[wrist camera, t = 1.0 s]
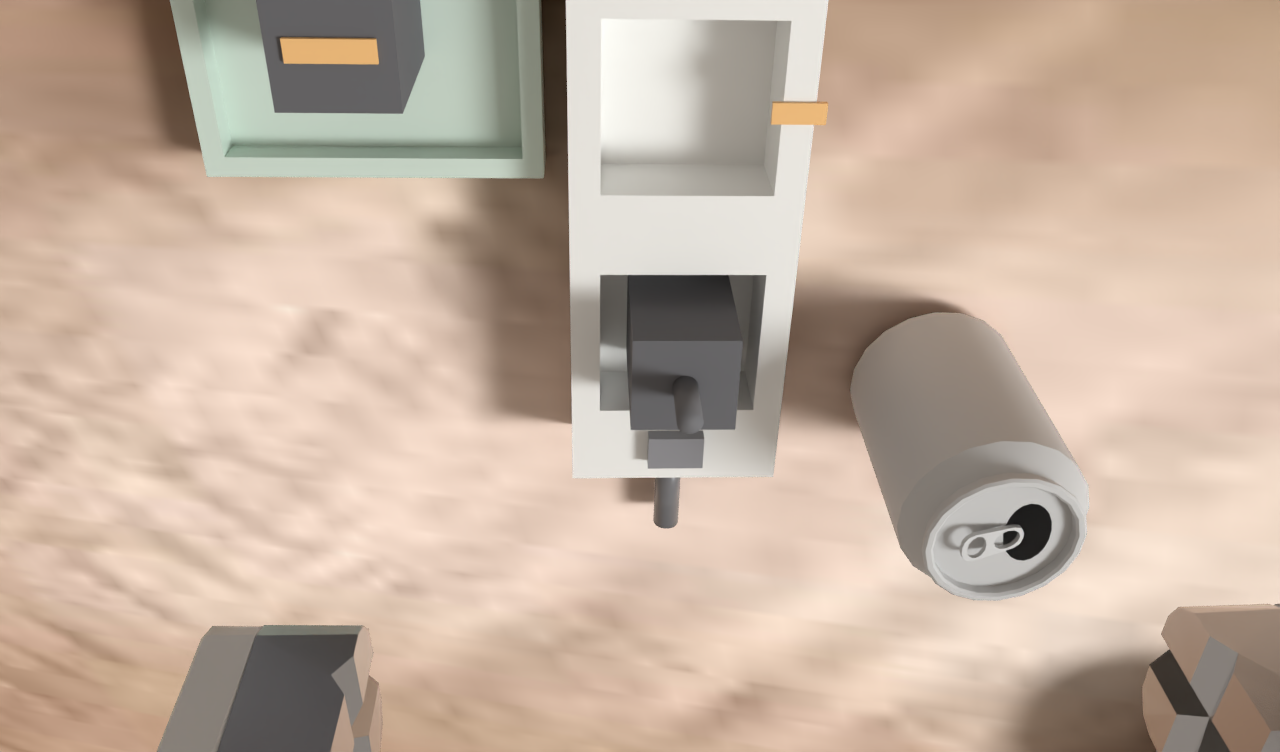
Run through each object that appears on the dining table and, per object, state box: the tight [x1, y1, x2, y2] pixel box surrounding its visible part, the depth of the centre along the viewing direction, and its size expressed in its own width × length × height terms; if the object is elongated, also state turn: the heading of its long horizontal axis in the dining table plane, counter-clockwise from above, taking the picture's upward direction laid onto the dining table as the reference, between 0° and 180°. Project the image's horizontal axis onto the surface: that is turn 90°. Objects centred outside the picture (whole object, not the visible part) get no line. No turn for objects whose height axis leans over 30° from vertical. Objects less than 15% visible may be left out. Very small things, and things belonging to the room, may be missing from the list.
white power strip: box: [566, 0, 828, 528], centre depth 45 cm, size 29×9×5 cm, turn 179°
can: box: [850, 312, 1089, 600], centre depth 47 cm, size 8×8×12 cm
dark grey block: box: [256, 0, 425, 114], centre depth 38 cm, size 4×4×6 cm
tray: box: [170, 0, 545, 178], centre depth 40 cm, size 13×13×2 cm
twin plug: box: [626, 275, 743, 434], centre depth 44 cm, size 4×4×8 cm
